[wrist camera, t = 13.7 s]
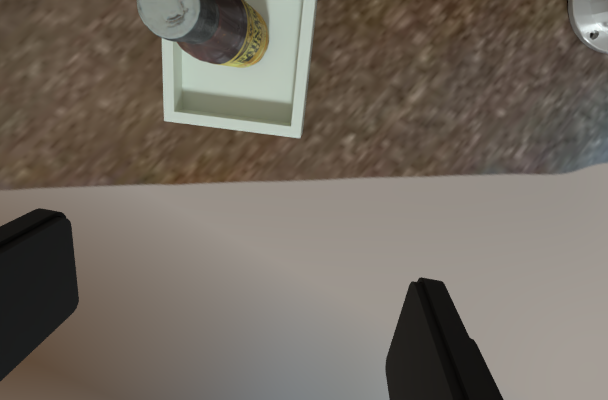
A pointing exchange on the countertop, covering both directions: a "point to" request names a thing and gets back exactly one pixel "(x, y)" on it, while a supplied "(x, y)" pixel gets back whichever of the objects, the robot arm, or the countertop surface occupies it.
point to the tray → (247, 78)
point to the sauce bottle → (209, 29)
